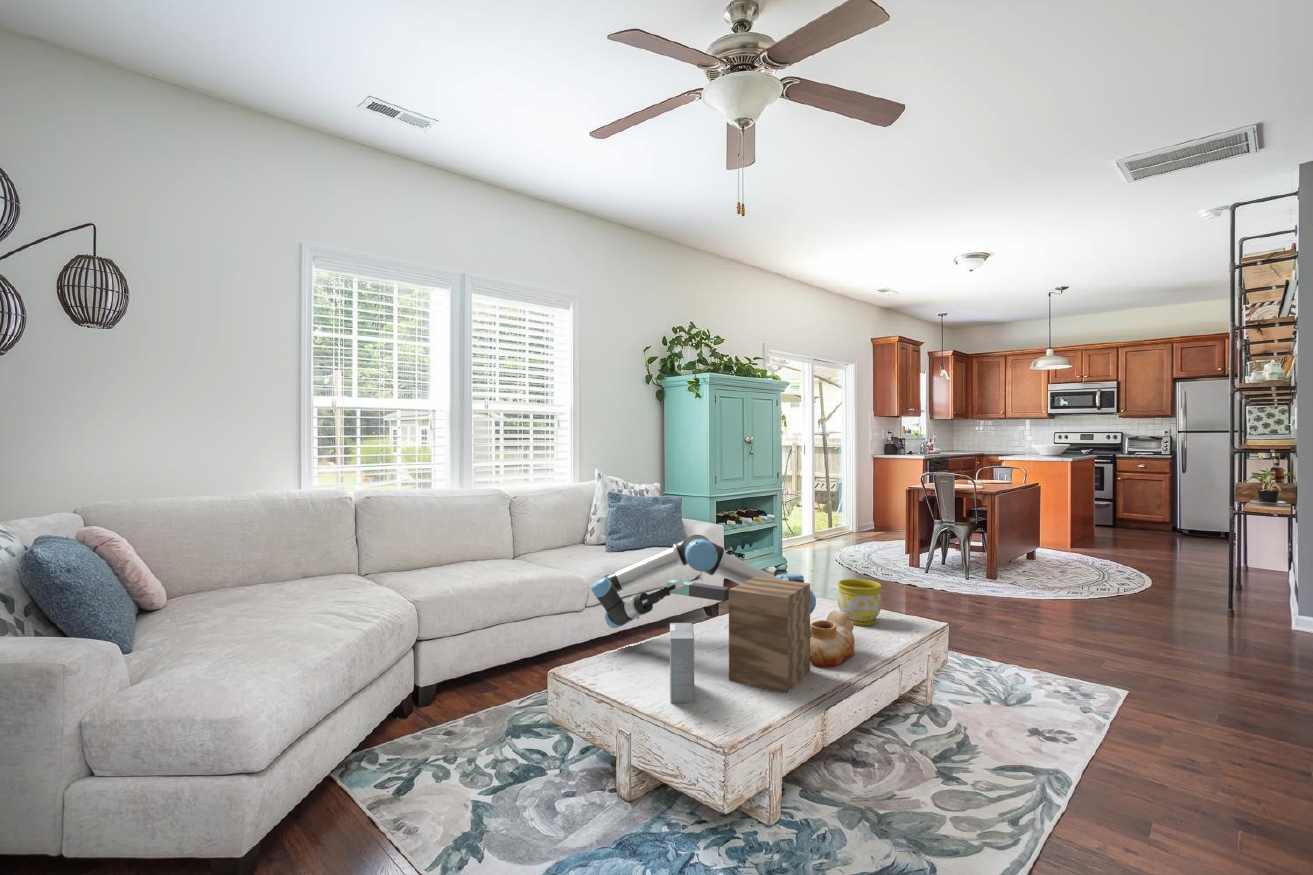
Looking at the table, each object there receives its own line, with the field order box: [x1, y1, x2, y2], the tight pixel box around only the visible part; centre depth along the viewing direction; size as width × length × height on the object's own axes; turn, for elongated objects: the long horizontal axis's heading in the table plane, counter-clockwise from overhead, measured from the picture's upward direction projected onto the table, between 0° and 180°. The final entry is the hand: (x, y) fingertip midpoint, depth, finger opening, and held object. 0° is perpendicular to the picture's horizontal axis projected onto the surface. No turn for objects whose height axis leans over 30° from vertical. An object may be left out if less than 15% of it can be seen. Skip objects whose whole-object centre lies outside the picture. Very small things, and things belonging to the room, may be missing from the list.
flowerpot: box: [837, 578, 882, 627], centre depth 279 cm, size 18×18×16 cm
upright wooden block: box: [728, 577, 811, 694], centre depth 218 cm, size 22×20×30 cm
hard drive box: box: [669, 622, 695, 704], centre depth 204 cm, size 16×8×20 cm, turn 178°
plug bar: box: [666, 579, 730, 602], centre depth 232 cm, size 23×4×4 cm, turn 58°
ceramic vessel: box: [810, 610, 855, 668], centre depth 236 cm, size 14×26×15 cm, turn 141°
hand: (685, 581), depth 235 cm, fingers closed on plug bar, 4 cm apart
